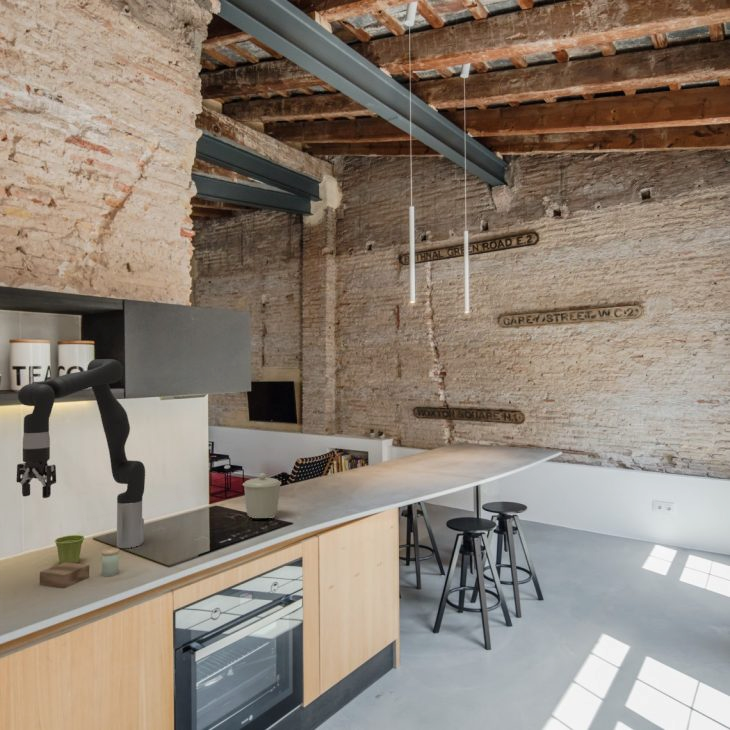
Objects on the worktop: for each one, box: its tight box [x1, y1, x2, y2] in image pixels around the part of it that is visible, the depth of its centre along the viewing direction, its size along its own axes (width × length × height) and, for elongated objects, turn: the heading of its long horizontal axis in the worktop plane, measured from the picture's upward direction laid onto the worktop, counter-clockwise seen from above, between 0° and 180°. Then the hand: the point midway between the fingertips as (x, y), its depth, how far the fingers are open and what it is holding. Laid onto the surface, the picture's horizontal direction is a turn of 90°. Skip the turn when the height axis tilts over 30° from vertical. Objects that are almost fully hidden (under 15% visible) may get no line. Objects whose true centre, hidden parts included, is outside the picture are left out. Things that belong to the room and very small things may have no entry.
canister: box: [242, 472, 282, 518], centre depth 259 cm, size 18×18×21 cm
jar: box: [101, 547, 120, 577], centre depth 185 cm, size 5×5×8 cm
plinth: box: [39, 562, 90, 589], centre depth 178 cm, size 10×10×4 cm
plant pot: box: [54, 534, 85, 565], centre depth 196 cm, size 9×9×9 cm
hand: (36, 496), depth 176 cm, fingers open, 8 cm apart
